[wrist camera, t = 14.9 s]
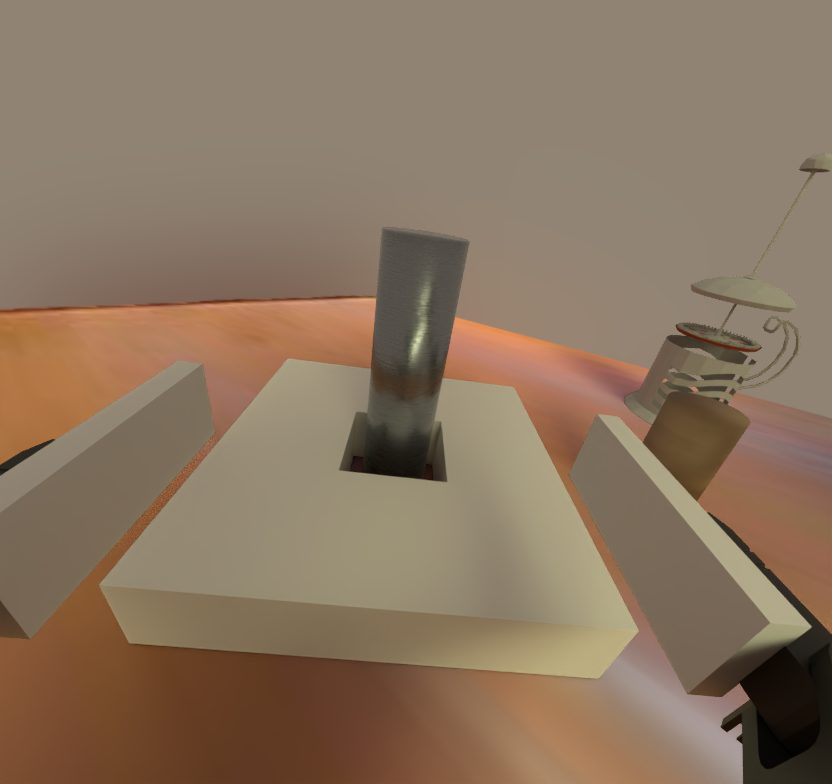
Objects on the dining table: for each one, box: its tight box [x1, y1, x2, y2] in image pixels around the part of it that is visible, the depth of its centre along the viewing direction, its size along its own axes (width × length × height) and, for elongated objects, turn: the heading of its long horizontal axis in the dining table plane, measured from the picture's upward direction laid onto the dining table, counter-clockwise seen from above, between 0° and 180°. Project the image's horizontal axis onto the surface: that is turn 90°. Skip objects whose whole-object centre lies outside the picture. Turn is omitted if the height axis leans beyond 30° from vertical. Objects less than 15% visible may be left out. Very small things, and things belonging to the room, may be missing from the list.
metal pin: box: [362, 227, 469, 480], centre depth 19 cm, size 4×4×16 cm
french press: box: [624, 153, 832, 424], centre depth 33 cm, size 10×12×25 cm
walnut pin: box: [643, 391, 750, 501], centre depth 22 cm, size 4×4×9 cm
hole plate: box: [99, 358, 639, 679], centre depth 22 cm, size 20×20×4 cm
